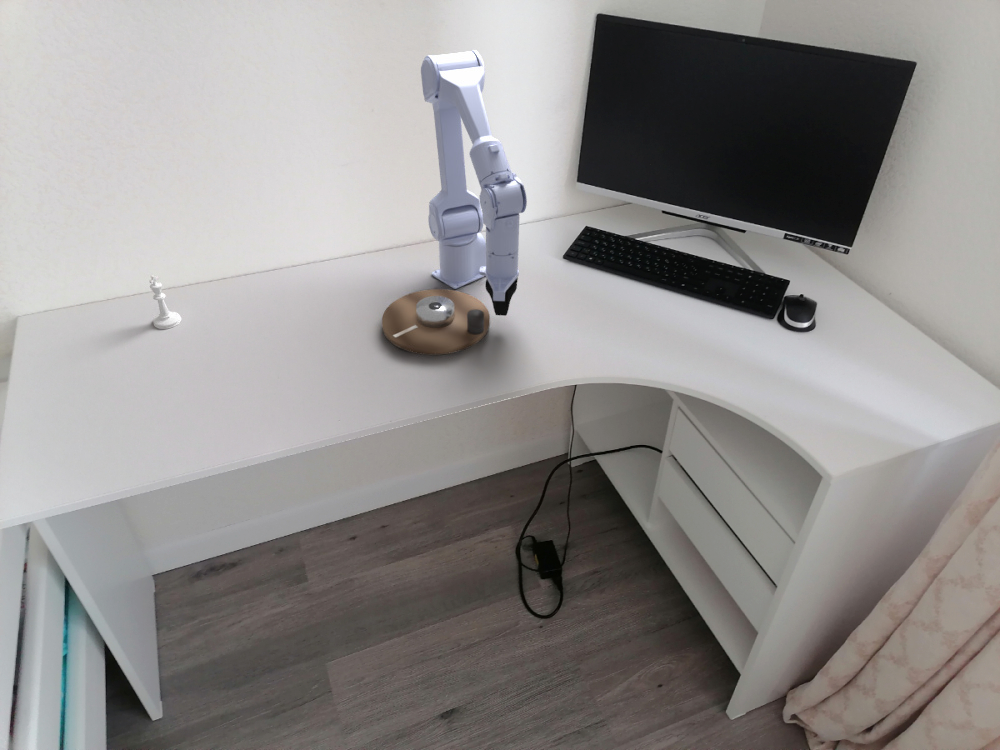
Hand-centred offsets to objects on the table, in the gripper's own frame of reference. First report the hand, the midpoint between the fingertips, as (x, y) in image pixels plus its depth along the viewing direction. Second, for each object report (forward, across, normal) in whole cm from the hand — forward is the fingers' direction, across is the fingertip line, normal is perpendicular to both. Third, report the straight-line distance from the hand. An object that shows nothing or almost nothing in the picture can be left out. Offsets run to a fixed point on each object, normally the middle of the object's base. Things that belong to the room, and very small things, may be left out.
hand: (501, 313), depth 136 cm
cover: (+1, +1, -12) cm, 12 cm away
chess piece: (+3, +4, -63) cm, 63 cm away
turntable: (+2, +1, -12) cm, 12 cm away
